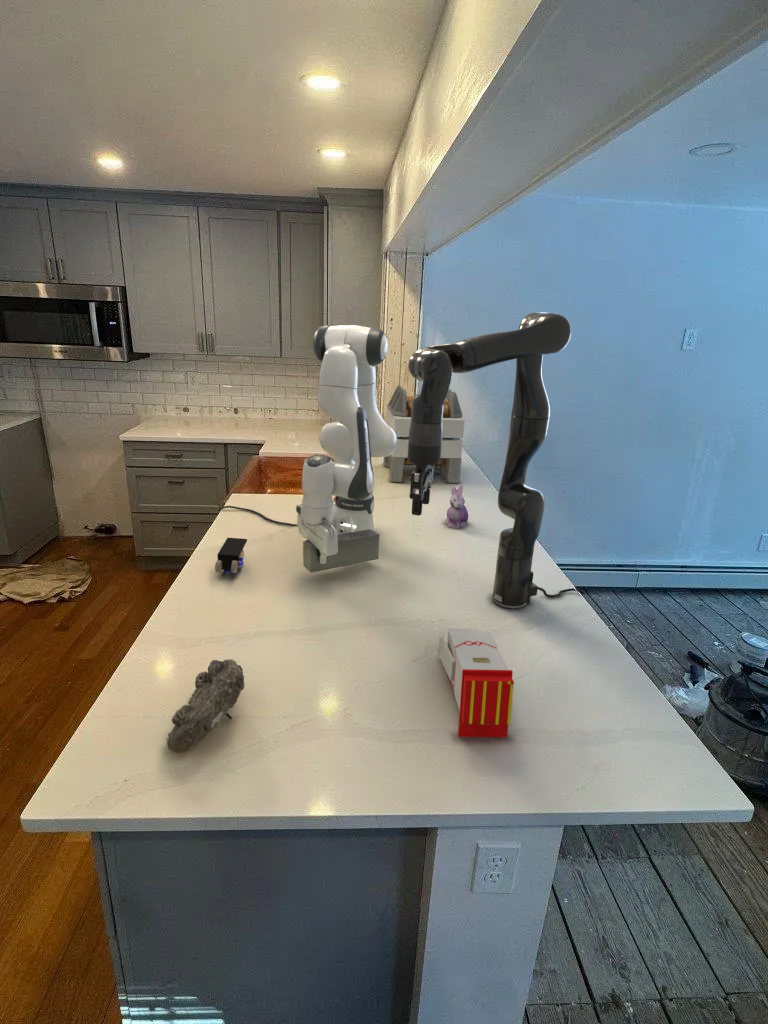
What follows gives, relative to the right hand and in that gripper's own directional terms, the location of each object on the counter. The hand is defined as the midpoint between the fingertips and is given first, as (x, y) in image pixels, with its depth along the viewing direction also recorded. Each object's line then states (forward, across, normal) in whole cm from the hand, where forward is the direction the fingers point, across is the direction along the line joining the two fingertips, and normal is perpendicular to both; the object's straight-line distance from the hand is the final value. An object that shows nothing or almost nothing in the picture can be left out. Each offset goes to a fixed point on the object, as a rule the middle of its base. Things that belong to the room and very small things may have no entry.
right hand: (420, 509), depth 133 cm
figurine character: (+31, +11, +58) cm, 66 cm away
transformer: (+31, +137, +29) cm, 143 cm away
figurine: (+31, +74, +1) cm, 81 cm away
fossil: (+31, -46, +28) cm, 63 cm away
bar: (+28, +22, +27) cm, 45 cm away
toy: (+31, -23, -18) cm, 42 cm away
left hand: (+25, +16, +33) cm, 44 cm away
